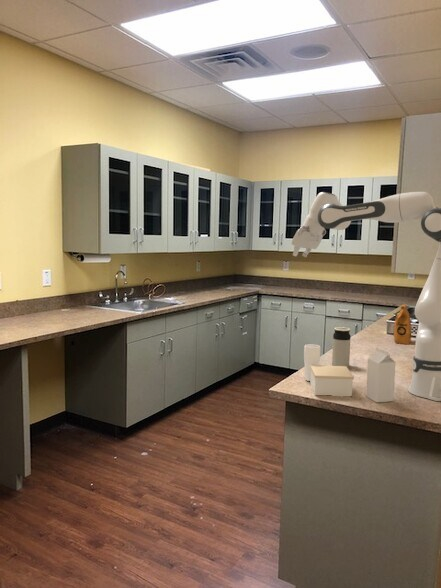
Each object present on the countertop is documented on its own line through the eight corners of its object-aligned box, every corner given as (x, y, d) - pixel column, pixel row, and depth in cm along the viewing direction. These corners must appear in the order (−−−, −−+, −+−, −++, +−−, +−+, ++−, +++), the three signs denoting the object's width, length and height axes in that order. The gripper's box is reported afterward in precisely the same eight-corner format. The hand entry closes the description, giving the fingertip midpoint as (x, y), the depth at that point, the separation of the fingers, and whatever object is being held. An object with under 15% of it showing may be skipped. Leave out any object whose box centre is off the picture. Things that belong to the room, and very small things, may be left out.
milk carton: (376, 403, 172) (379, 352, 169) (365, 396, 178) (368, 348, 176) (393, 401, 174) (396, 351, 171) (382, 395, 180) (384, 347, 178)
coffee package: (391, 343, 271) (393, 306, 268) (393, 339, 282) (395, 303, 280) (409, 345, 267) (412, 307, 264) (411, 341, 278) (413, 304, 275)
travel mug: (349, 368, 217) (351, 330, 215) (332, 367, 219) (333, 329, 217) (348, 363, 225) (350, 327, 223) (331, 362, 227) (333, 326, 224)
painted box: (345, 385, 192) (346, 366, 191) (352, 397, 178) (353, 376, 177) (309, 383, 193) (310, 365, 192) (314, 395, 179) (315, 375, 178)
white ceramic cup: (317, 377, 202) (318, 344, 200) (320, 382, 195) (322, 347, 193) (301, 377, 202) (302, 343, 200) (304, 382, 195) (306, 347, 193)
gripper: (308, 228, 193) (294, 258, 197) (327, 232, 210) (314, 259, 214) (296, 222, 196) (282, 252, 200) (316, 226, 213) (303, 254, 217)
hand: (299, 256), depth 207 cm, fingers open, 8 cm apart
